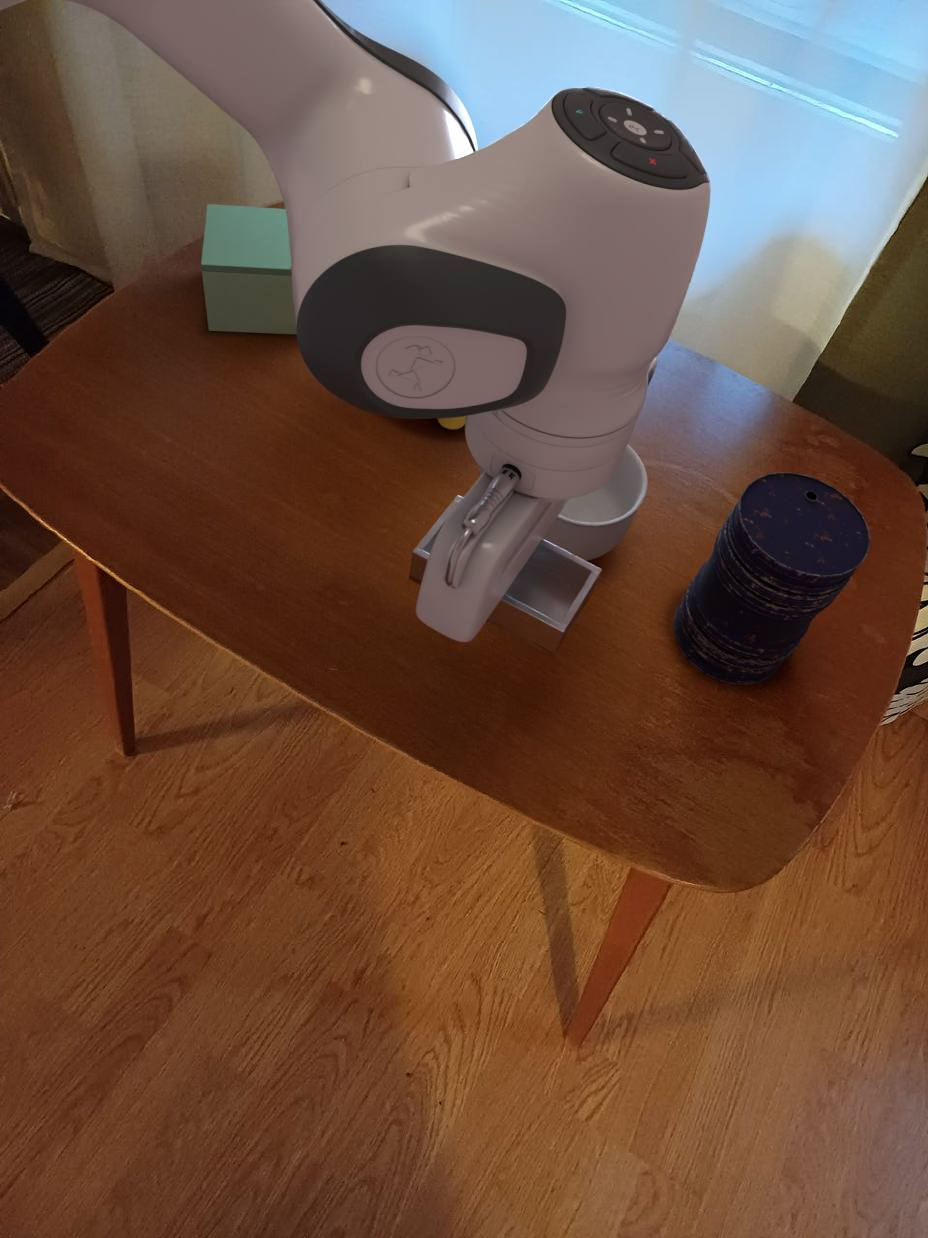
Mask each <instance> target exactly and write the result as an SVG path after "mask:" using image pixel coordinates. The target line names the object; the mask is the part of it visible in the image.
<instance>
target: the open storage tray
mask: <svg viewBox="0 0 928 1238" xmlns="http://www.w3.org/2000/svg"><path fill="white" fill-rule="evenodd" d="M463 497H464V496H461V495H458V494H457V495H456V496H455V498H454V499H453V500H452V501H451V503H450V504H449V505H448V506H447V508H445V510H444V512H443V513H442V514H441V515H440V516H439V517H438V518H437V520H436V521H435V522H434V523H433V525H432V526H431V528H430V529H429V530H428V532H426V534H425V535H424V536H423V538H422V539H421V540H420V541H419V543H418V544H417V545H416V547H414V549H413V550H412V551H411V552H412V553H411V560H410V565H409V573H408V580H409V581H411V582H413V583H415V584H417V585H418V586H421V583H422V579H423V576H424V572H425V568H426V565H427V561H428V558H429V555H430V552H431V549H432V546H433V544H434V542H435V539H436V537H437V535H438V533H439V531H440V529H441V528H442V526H443V524H444V523H445V521H446V519H447V518H448V517H449V515H450V514H451V512H452V511H453V510H454V509H455V507H456V506H457V505H458V504H459V502H460V501H461V500H462V498H463ZM601 574H602V568H600V567H598V566H596V565H594V564H592V563H590V562H588V560H586V561H585V560H583V559H581V558H579V557H577V556H575V555H573V554H571V553H569V552H567V551H565V550H563V549H561V548H559V547H558V546H556V545H554V544H552V543H550V542H548V541H546V540H544V539H542V540H541V541H540V543H539V544H538V546H537V547H536V549H535V550H534V551H533V553H532V554H531V556H530V557H529V559H528V560H527V562H526V563H525V565H524V566H523V568H522V569H521V571H520V572H519V573H518V575H517V576H516V578H515V579H514V581H513V582H512V584H511V585H510V587H509V588H508V590H507V591H506V592H505V594H504V595H503V597H502V598H501V600H500V601H499V603H498V604H497V606H496V607H495V609H494V610H493V611H492V613H491V614H490V616H489V617H488V619H487V620H486V622H487V623H489V624H491V625H493V626H494V627H496V628H498V629H500V630H502V631H504V632H506V633H508V634H510V635H511V636H513V637H514V638H517V639H519V640H521V641H522V642H524V643H526V644H528V645H530V646H532V647H533V648H535V649H537V650H539V651H541V652H543V653H544V654H546V655H548V656H551V657H552V658H553V657H555V655H556V654H557V652H558V650H559V649H560V647H561V646H562V644H563V642H564V640H565V639H566V637H567V636H568V634H569V632H570V631H571V629H572V627H573V626H574V625H575V622H577V619H578V618H579V616H580V614H581V613H582V611H583V609H584V608H585V606H586V604H587V603H588V602H589V599H590V598H591V596H592V594H593V591H594V589H595V588H596V584H597V582H598V580H599V577H600V576H601Z"/></svg>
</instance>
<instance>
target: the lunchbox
mask: <svg viewBox="0 0 928 1238" xmlns="http://www.w3.org/2000/svg"><path fill="white" fill-rule="evenodd" d="M201 276H202V284H203V285H202V286H203V294H204V301H205V302H204V303H205V310H206V318H207V319H206V320H207V327H208V331H209V332H226V333H227V332H228V333H252V334H274V335H275V334H276V335H296V336H297V331H296V319H295V311H294V302H293V293H292V279H291V277H292V276H288V275H270V274H252V273H234V272H217V271H202V270H201Z"/></svg>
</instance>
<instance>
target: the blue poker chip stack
mask: <svg viewBox="0 0 928 1238" xmlns="http://www.w3.org/2000/svg"><path fill="white" fill-rule="evenodd" d="M870 547H871V533H870V529H869V526H868V523H867V521H866V519H865V517H864V515H863V514H862V513H861V511H860V509H859V508H858V506H857V505H856V504H854V503H853V501H852V500H851V499H849V497H848V496H846V495H845V494H844V493H843V492H841V491H840V490H838V489H837V488H836V487H834V486H833V485H831V484H829V483H827V482H825V481H823V480H820V479H818V478H816V477H813V476H810V475H807V474H802V473H799V472H789V471H785V472H784V471H782V472H771V473H767V474H763V475H761V476H758V477H756V478H755V479H754V480H752V481H751V482H750V483H749V484H747V486H746V487H745V488H744V490H743V491H742V493H741V495H740V497H739V498H738V501H737V502H736V504H735V506H734V507H733V508H732V509H731V511H730V512H729V513H728V516H727V517H726V519H725V521H724V523H723V525H722V527H721V529H720V530H719V531H718V533H717V535H716V537H715V542H714V544H713V550H712V552H711V554H710V556H709V558H708V560H707V561H705V562H704V563H703V564H702V566H701V567H700V568H699V569H698V571H697V573H696V575H695V576H694V577H693V579H692V580H691V581H690V583H689V585H688V587H686V591H685V593H684V594H683V598H682V601H681V602H680V603H679V605H678V606H677V609H676V611H675V613H674V617H673V634H674V638H675V641H676V644H677V645H678V648H679V650H680V651H681V653H682V654H683V655H684V657H685V658H686V659H687V660H688V661H689V663H690V664H692V665H693V666H694V667H695V668H696V669H698V671H700V672H702V673H703V674H704V675H706V676H707V677H710V678H712V679H714V680H717V681H719V682H722V683H725V684H726V683H727V684H730V685H731V684H732V685H738V686H743V685H744V686H745V685H753V684H758V683H760V682H763V681H765V680H767V679H768V678H770V677H771V676H773V674H775V673H776V672H777V671H778V670H779V668H780V667H781V665H782V663H784V662H785V661H786V660H787V659H789V657H790V656H791V655H792V654H793V653H794V651H795V650H796V649H797V647H798V646H799V645H800V643H801V641H802V639H803V638H804V637H805V636H806V634H807V632H808V630H809V628H810V626H811V623H812V621H813V620H814V619H815V618H816V616H817V615H818V614H820V613H821V612H823V611H825V609H826V608H828V607H829V606H831V604H832V603H833V602H834V601H835V599H836V598H837V596H838V595H839V594H840V593H841V592H842V591H843V590H844V588H845V587H846V586H847V584H848V583H849V581H850V580H851V578H852V576H853V575H854V573H855V571H856V570H857V569H858V568H859V567H860V566H861V565H862V564H863V562H864V561H865V560H866V557H867V556H868V553H869V551H870Z"/></svg>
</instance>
